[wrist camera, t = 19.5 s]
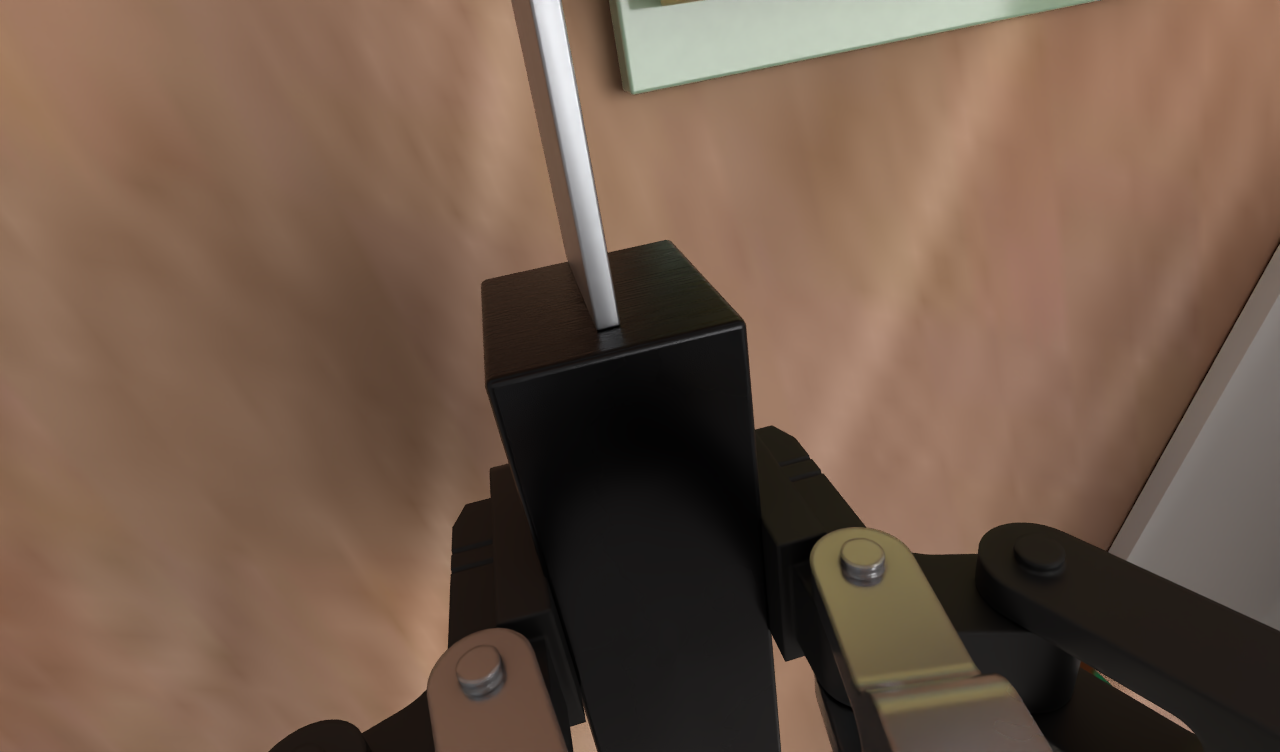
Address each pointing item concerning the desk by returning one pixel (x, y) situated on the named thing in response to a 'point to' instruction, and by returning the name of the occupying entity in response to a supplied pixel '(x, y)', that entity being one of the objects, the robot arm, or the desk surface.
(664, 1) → the butter
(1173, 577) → the tablet stand
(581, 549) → the knife
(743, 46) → the butter dish
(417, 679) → the desk surface
